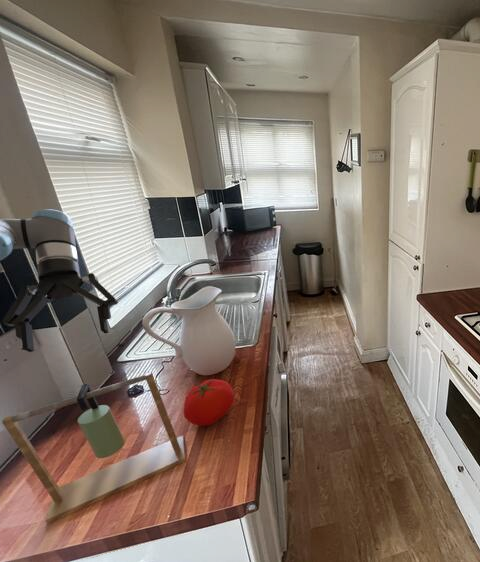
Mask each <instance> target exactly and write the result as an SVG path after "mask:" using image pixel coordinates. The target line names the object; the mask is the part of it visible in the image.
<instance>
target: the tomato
mask: <svg viewBox="0 0 480 562" xmlns="http://www.w3.org/2000/svg"><path fill="white" fill-rule="evenodd" d="M234 400H235V395H234V390H233V388H232V386H231V385H230V383H229V382H227V381H225V380H221V379H214V378H211V379H207V380H204V381H203V382H202V383H201V384H197V385H195V386H192V388H191V389H190V390H189V391H188V393H187V394H186V396H185V400H184V405H183V417H184V419H185V420H187V421H188V422H189V423H191V424H192V425H193V426H200V427H205V426H211V425H212V424H214V423H216V422H218V421H219V420H220V419H222V418H223V417H224V416H226V414H227V413H228V412H229V411H230V409H231V407H232V405H233V403H234Z"/></svg>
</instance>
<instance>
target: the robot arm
mask: <svg viewBox="0 0 480 562" xmlns="http://www.w3.org/2000/svg"><path fill="white" fill-rule="evenodd" d="M15 242H16V243H15ZM21 249H23V250H25V249H34V250H35V259H36V266H37V267H36V268H37V277H38V283H37V284H33V285H27V284H26V283H24V284H21V285H20V286H19V293H18V295H17V297H16V298H15V299H14V301H13V303H12V304H11V306H10V308H9V309H8V311H7V312H6V313H5V315H4V317H3V319H2V321H1V322H2V324H4V325H6V326H8V327H15V337H16V338H18V339H19V340H21V343H22V350H24V351H26V352H28V353H32V352H35V345H34V335H33V325H32V324H30V322H31V321H32V320H33V319H34V318H35V317H36V316H37V315H38V314H39V313H40V312H41V311H42V309H44V307H45V306H47V304H50V303H51V302H52V301H53V300H54V299H55V300H60V299H63V298H70V297H74V296H75V295H78V296H80V297H83V298H85V299H86V300H88V301H90V302H92V303H94V304H96V305H97V306H96V309H97V314H98V315H97V316H98V322H99V328H100V332H102V333H103V334H109V327H108V322H107V321H108V320H111V319H112V315H111V314H112V313H111V307H112V306H115V305H118V303H119V301H118V300H117V299H116V298H115V297H114V296H113V294H112V293H110V292H109V291H108V290H107V289H106V288H105V287H104V286H103V285H102V284H101V283H100V282H99V279H98V277H97V276H96V275H95V274H94V273H93V272H89V273H88V274H87V275H85V276H81V269H80V264H79V256H78V250H77V244H76V236H75V229H74V225H73V221H72V218H71V217H70V216H69V215H68V214H67V213H66V212H63V211H60V210H56V209H43V210H36V211H35V212H34V213H32V216H31V218H0V261H3V260H4V259H6V258H7V257H8V256H10V254H11V253H12V252H13V250H21ZM85 283H87V284H88V285H92V286H93V287H94V288H95V289H96V290H97V291H98V292H99V293H101V295H102V296H103V297H105V299H106V300H104V299H102V298H100V297H99V296H97V295H94V294H92V293H91V292H90V291H87V290H85V289H84V288H83V287H82V286H83V285H84V284H85ZM37 291H39V292H38V293H37V294H36V292H37ZM34 295H36V297H35V299H34V300H32V297H33V296H34ZM31 300H32V301H31ZM30 302H31V303H30Z"/></svg>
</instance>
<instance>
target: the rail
mask: <svg viewBox="0 0 480 562" xmlns="http://www.w3.org/2000/svg"><path fill="white" fill-rule="evenodd" d="M143 381H146V383H147V385H148V388H149V390H150V394H151V395H152V398H153V401H154V404H155V405H156V408H157V411H158V414H159V416H160V418H161V421H162V424H163V426H164V429H165V431H166V434H167V437H168V439H169V440H168V441H165V442H163V443H160V444H159V445H158V444H157V445H156V446H153V447H151V448H149V449H146V450H144V451H141V452H139V453H136V454H134V455H132V456H129V457H127V458H124V459H121V460H120V461H118V462H114V463H113V464H110V465H108V466H105V467H103V468H101V469H97V470H96V471H94V472H91V473H89V474H86V475H84V476H82V477H79V478H77V479H74V480H71V481H70V482H66V483H65V484H62V485H60V486H59V485H58V483H57V482H56V480H55V479H54V477H53V476H52V475H51V473H50V471H49V470H48V468H47V467H46V465H45V464H44V462H43V461H42V458H41V457H40V455H39V454H38V452H37V451H36V449H35V448H34V446H33V445H32V443H31V441H30V439H29V438H28V437H27V435H26V433H25V432H24V430H23V429H22V427H21V425H20V424H19V422H20V421H23V420H26V419H29V418H33V417H35V416H38V415H42V414H44V413H47V412H51V411H54V410H57V409H60V408H64V407H67V406H69V405H72V404H76V403H78V402H77V397H78V395H75V396H71V397H69V398H66V399H63V400H60V401H56V402H53V403H49V404H46V405H44V406H40V407H37V408H34V409H31V410H28V411H25V412H21V413H17V414H15V415H13V414H11V415H8V416H5V417H3V419H2V421H1V423H2V425H3V426H4V428H5V429H6V431H7V432H8V434H9V435H10V437H11V438H12V440H13V441H14V443H15V444H16V446H17V447H18V449H19V450H20V452H21V453H22V455H23V457H24V458H25V459H26V461H27V462H28V464H29V466H30V467H31V468H32V470H33V472H34V473H35V475H36V476H37V478H38V479H39V480H40V482H41V484H42V485H43V487H44V488H45V490H46V491H47V493H48V494H49V496H50V497H51V501H50V504H49V507H48V510H47V512H46V515H45V519H44V521H45V523H46V524H47V525H48V524H50V523H51V524H52V523H53V522H55V521H57V520H60V519H61V518H64V517H67V516H68V515H71V514H73V513H75V512H78V511H79V510H82V509H84V508H86V507H88V506H90V505H92V504H95V503H97V502H100V501H101V500H103V499H106V498H108V497H110V496H112V495H115V494H117V493H119V492H121V491H123V490H126V489H128V488H130V487H133V486H134V485H136V484H137V485H138V484H139V483H141V482H143V481H145V480H147V479H151V478H152V477H154V476H157V475H159V474H161V473H163V472H165V471H167V470H169V469H172V468H174V467H176V466H178V465H180V464H183V463H185V462H187V455H186V444H185V436H184V435H183V434H182V435H180V436H177V435H176V433H175V430H174V427H173V425H172V422H171V419H170V416H169V414H168V412H167V409H166V406H165V403H164V400H163V398H162V396H161V395H162V394H161V393H160V391H159V388H158V385H157V382H156V380H155V377H154V375H153V372H152V371H149V372H145V373H144V374H143V375H139V376H136V377H132V378H129V379H125V380H123V381H120V382H117V383H114V384H110V385H107V386H104V387H101V388H98V389H94V390H91V392H88V393H87V394H86V397H85V399H86V400H87V399H88V398H91V397H97V396H101V395H104V394H107V393H110V392H112V391H115V390H120V389H122V388H125V387H128V386H131V385H135V384H137V383H142V382H143Z"/></svg>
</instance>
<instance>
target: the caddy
mask: <svg viewBox="0 0 480 562" xmlns="http://www.w3.org/2000/svg"><path fill="white" fill-rule="evenodd" d="M91 391H92V389H91V387H90V385H89V383H83V384H81V386H80V389H79V392H78V394H77V396H78V397H77V402H76V403H77V404H78V406H79V408H80V410H81V411H84V412H83V413H82V414H80V416H79V417H78V418H77V424H78V425H79V427H80V429H81V432H82V433H83V435H84V437H85V439H86V440H87V443H88V444H89V447H90V449H91V450H92V452H93V454H94V456H95V457H96V458H97V459H105V458H108V457H109V458H110V457H112V456H113V455H114V454H116V453H118V452H119V451H120V450H121V449H122V448H123V447H124V445H125V443H126V440H125V438H124V436H123V433H122V431H121V429H120V427H119V425H118V423H117V421H116V419H115V416H114V415H113V412H112V410H111V408H110V406H109V405H107V404H101V405H99V403H98V401H97V399H96V396H94V397H91V398H88V399H85V397H86V394H87V393H88V392H91ZM89 407H90V408H89ZM85 410H86V411H85Z"/></svg>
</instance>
